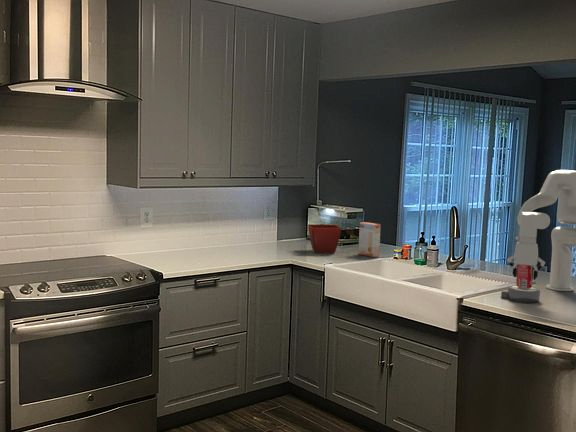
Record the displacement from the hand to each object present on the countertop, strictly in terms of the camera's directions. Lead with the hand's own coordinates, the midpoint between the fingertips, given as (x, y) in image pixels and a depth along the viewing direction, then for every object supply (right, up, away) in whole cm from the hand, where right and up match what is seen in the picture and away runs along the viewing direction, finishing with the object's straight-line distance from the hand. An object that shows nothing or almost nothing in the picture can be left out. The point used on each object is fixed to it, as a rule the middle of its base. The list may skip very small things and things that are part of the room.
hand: (524, 277), depth 293 cm
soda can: (0, -5, +1) cm, 5 cm away
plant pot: (-86, +5, +124) cm, 151 cm away
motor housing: (-1, -10, +2) cm, 10 cm away
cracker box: (-58, +3, +113) cm, 127 cm away
